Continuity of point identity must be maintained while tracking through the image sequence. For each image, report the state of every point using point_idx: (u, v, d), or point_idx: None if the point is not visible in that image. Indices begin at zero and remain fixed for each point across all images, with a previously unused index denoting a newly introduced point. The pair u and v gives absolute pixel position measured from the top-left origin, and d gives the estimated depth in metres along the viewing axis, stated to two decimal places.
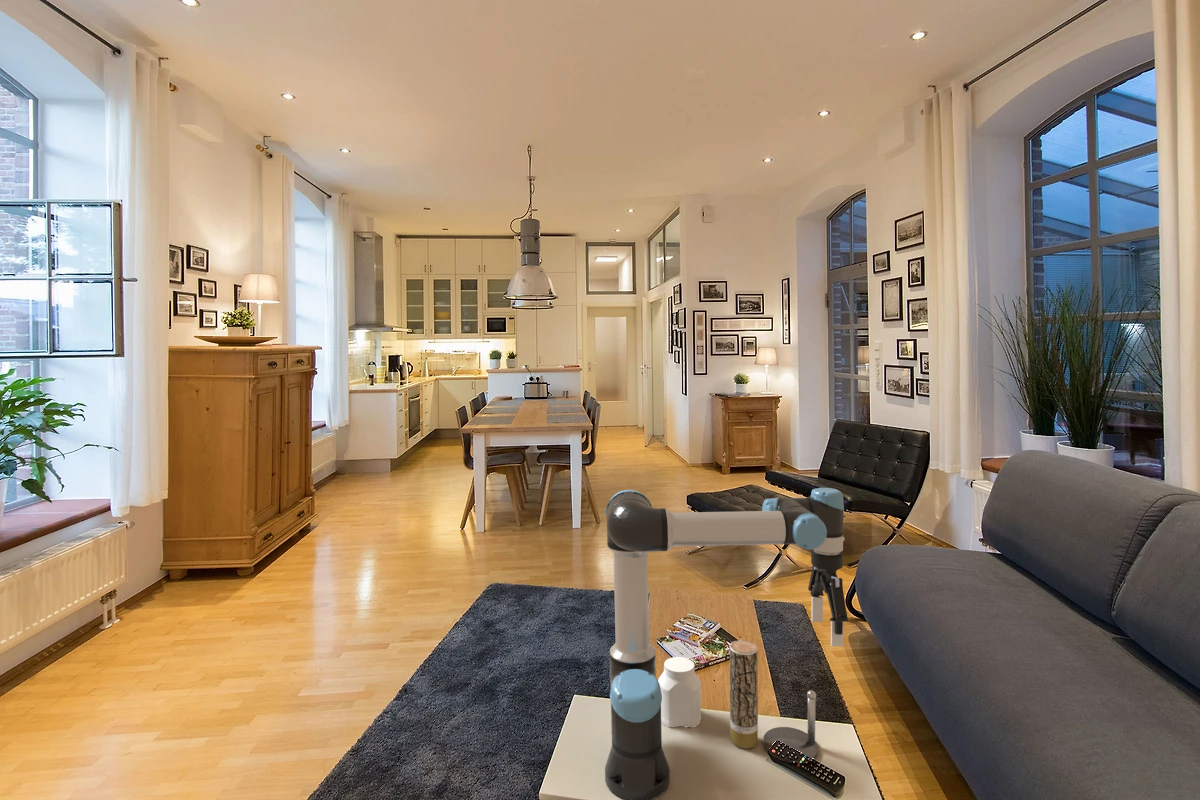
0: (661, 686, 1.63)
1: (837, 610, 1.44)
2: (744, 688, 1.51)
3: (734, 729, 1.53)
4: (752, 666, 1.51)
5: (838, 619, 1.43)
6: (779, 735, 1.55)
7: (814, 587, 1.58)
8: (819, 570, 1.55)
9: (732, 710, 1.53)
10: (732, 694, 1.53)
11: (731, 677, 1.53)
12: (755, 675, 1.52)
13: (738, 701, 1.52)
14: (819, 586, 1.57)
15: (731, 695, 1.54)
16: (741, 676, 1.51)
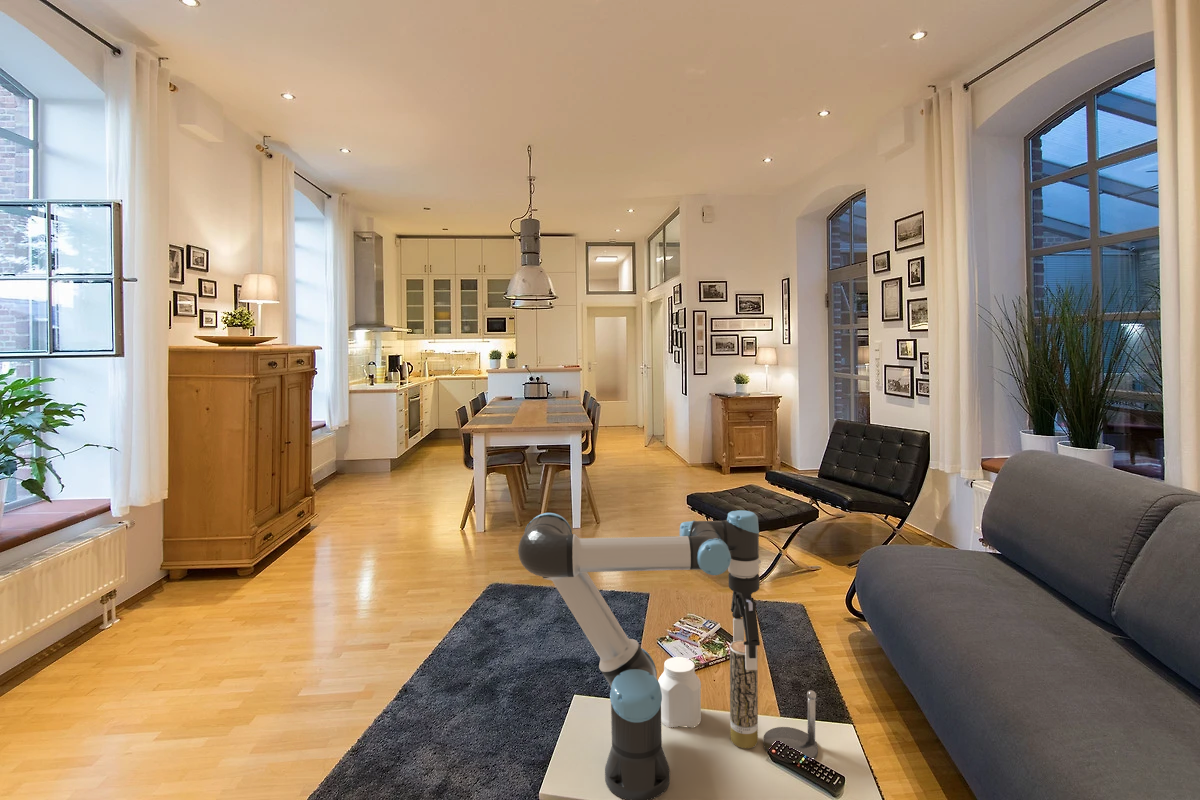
0: (661, 686, 1.63)
1: (749, 634, 1.44)
2: (744, 688, 1.51)
3: (734, 729, 1.53)
4: None
5: (750, 643, 1.43)
6: (779, 735, 1.55)
7: (734, 609, 1.58)
8: (737, 592, 1.55)
9: (732, 710, 1.53)
10: (732, 694, 1.53)
11: (731, 677, 1.53)
12: (755, 675, 1.52)
13: (738, 701, 1.52)
14: (739, 608, 1.57)
15: (731, 695, 1.54)
16: (741, 676, 1.51)
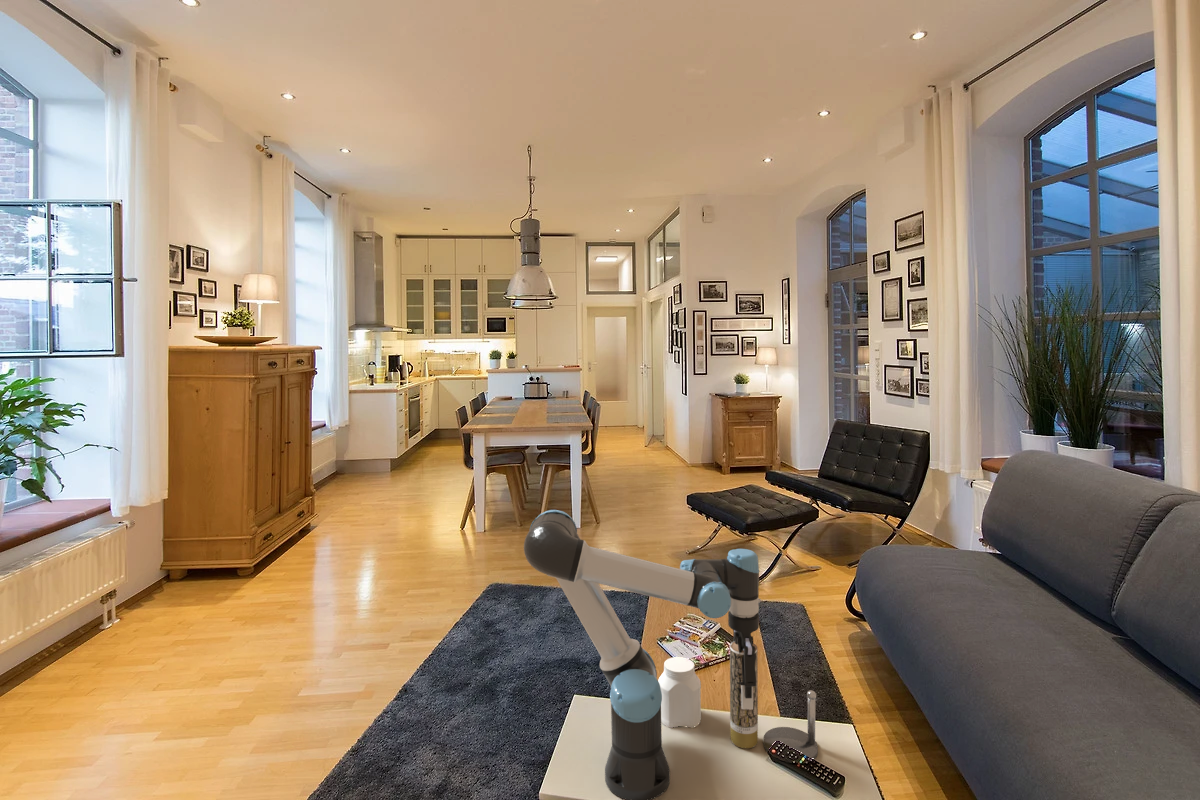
0: (661, 686, 1.63)
1: (746, 677, 1.47)
2: None
3: (734, 729, 1.53)
4: None
5: (746, 685, 1.47)
6: (779, 735, 1.55)
7: None
8: None
9: (732, 710, 1.53)
10: (732, 694, 1.53)
11: (731, 677, 1.53)
12: (755, 675, 1.52)
13: (738, 701, 1.52)
14: None
15: (731, 695, 1.54)
16: (741, 676, 1.51)
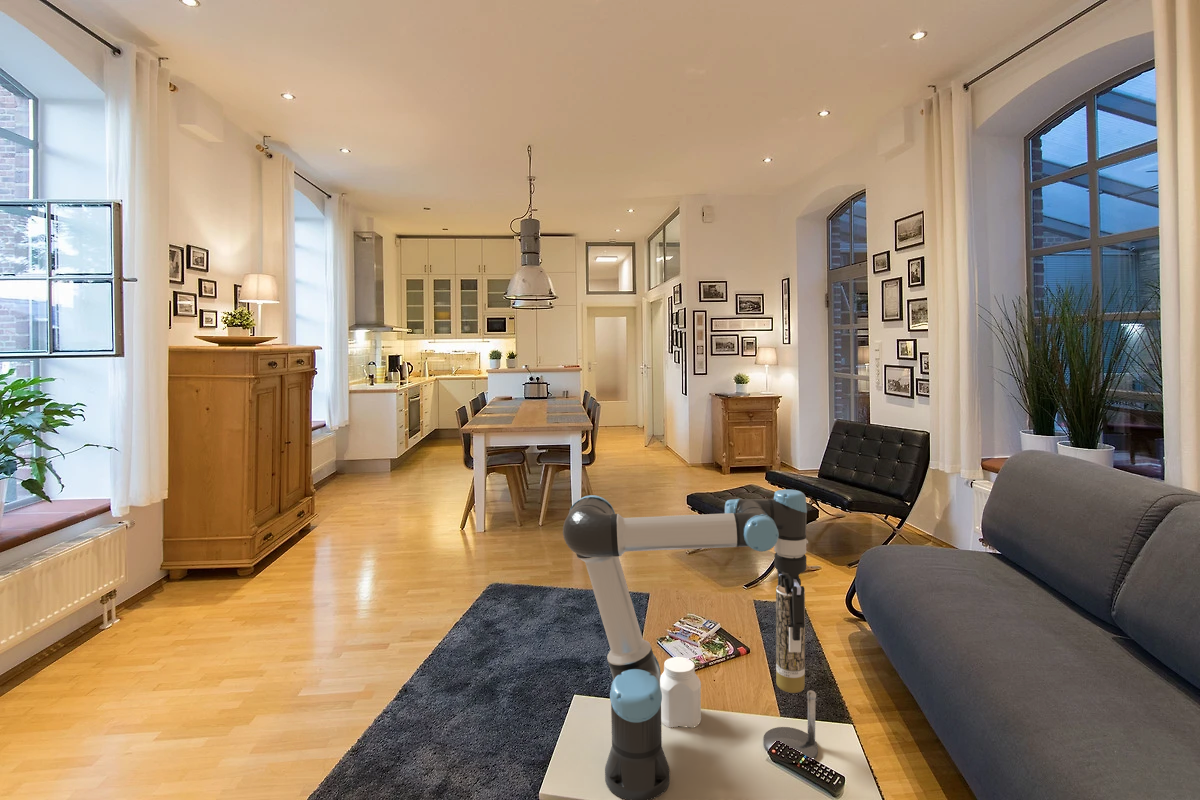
0: (661, 686, 1.63)
1: (795, 617, 1.43)
2: None
3: (781, 673, 1.49)
4: None
5: (795, 626, 1.43)
6: (779, 735, 1.55)
7: None
8: (783, 572, 1.52)
9: (779, 654, 1.50)
10: (779, 637, 1.49)
11: (778, 620, 1.50)
12: None
13: (785, 644, 1.48)
14: None
15: (777, 639, 1.50)
16: (789, 619, 1.47)
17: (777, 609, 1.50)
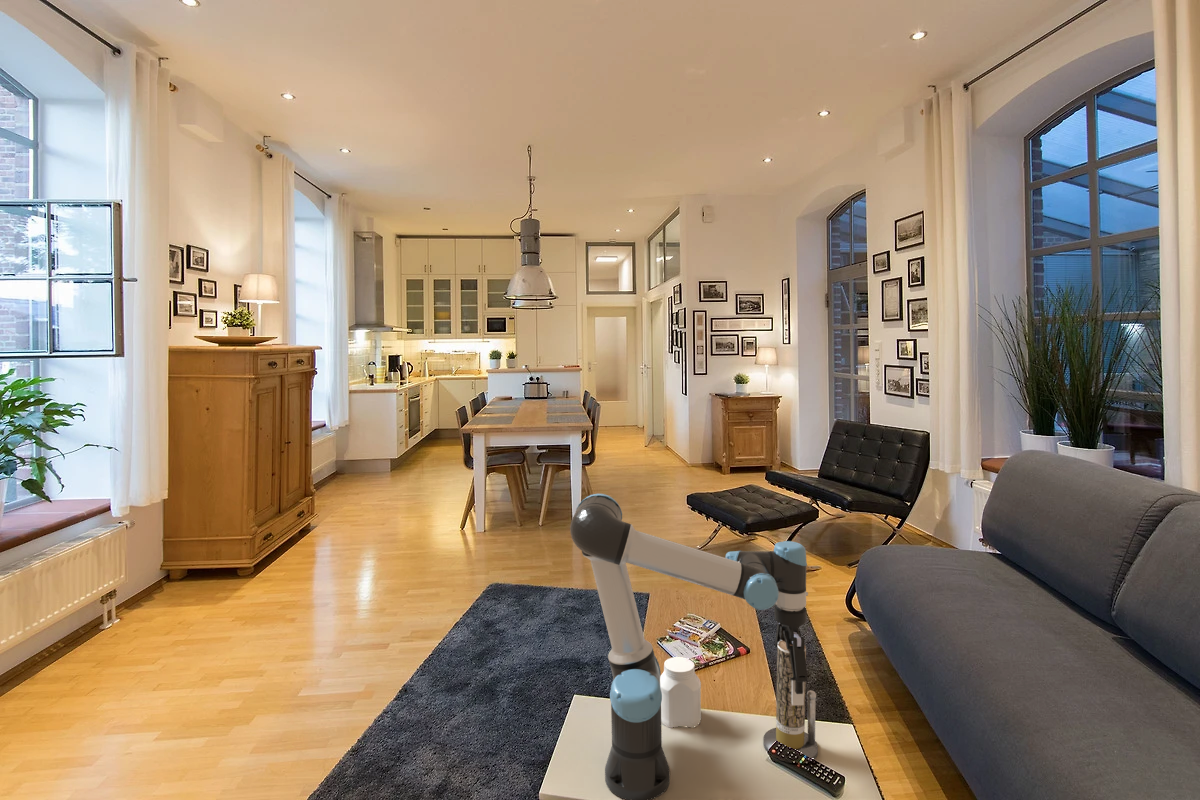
0: (661, 686, 1.63)
1: (797, 670, 1.43)
2: None
3: (781, 729, 1.50)
4: None
5: (798, 680, 1.42)
6: None
7: None
8: None
9: (779, 710, 1.51)
10: (779, 694, 1.50)
11: (778, 676, 1.51)
12: None
13: (786, 700, 1.49)
14: None
15: (778, 695, 1.51)
16: (789, 676, 1.48)
17: (778, 665, 1.51)
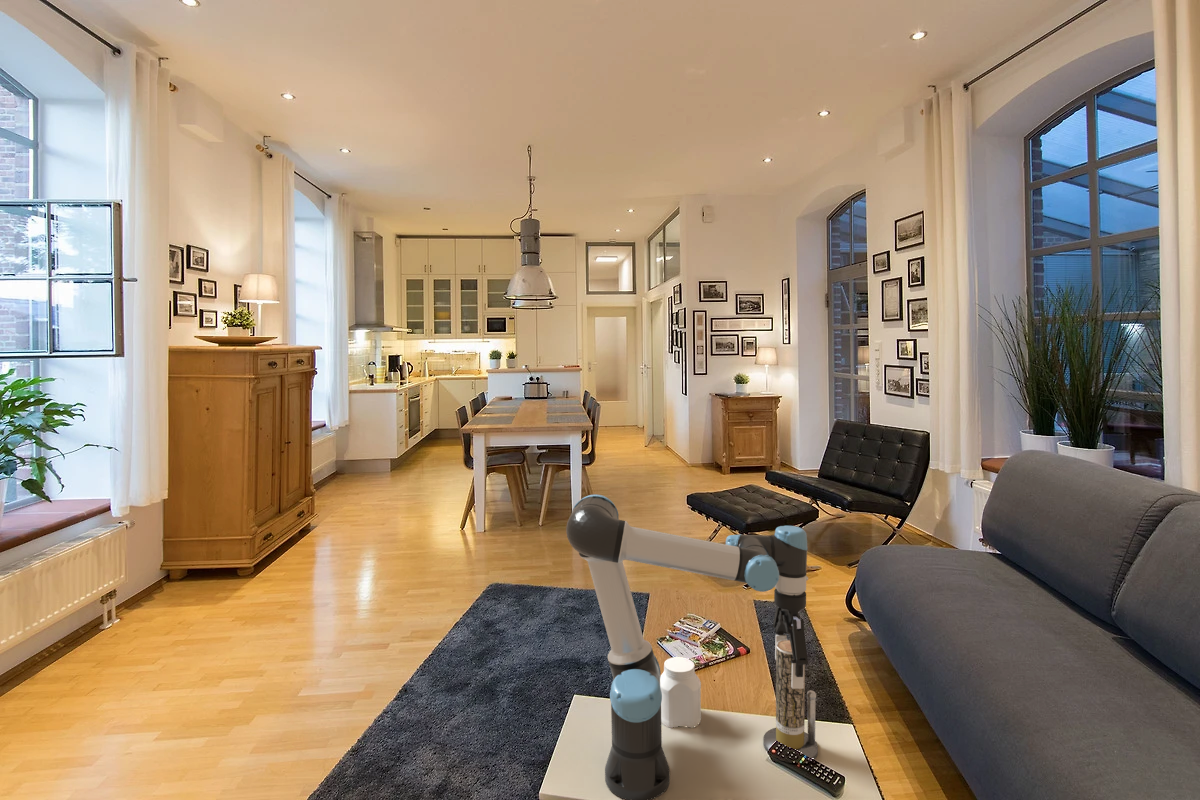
0: (661, 686, 1.63)
1: (797, 652, 1.42)
2: None
3: (781, 729, 1.50)
4: None
5: (798, 662, 1.41)
6: None
7: (778, 625, 1.56)
8: (782, 609, 1.52)
9: (778, 710, 1.51)
10: (779, 694, 1.50)
11: (778, 677, 1.51)
12: None
13: (785, 701, 1.49)
14: (783, 624, 1.55)
15: (777, 695, 1.51)
16: (789, 676, 1.48)
17: (777, 666, 1.51)
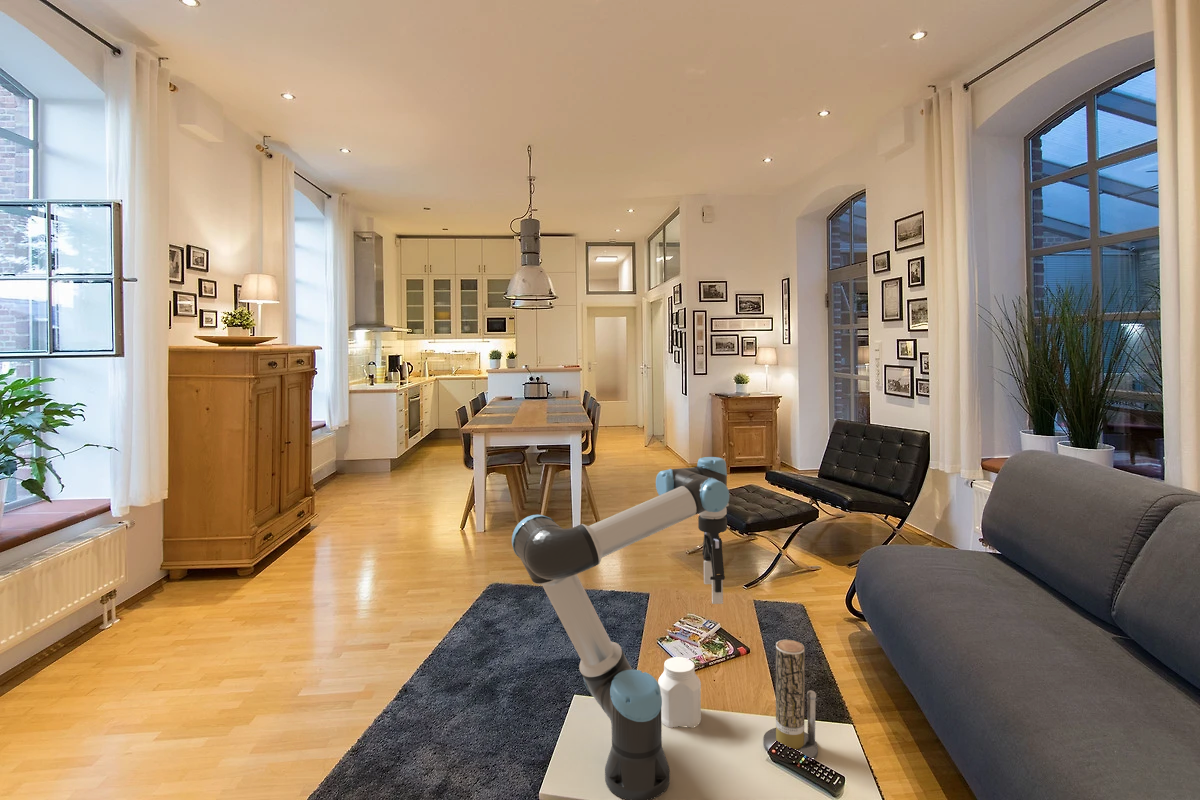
0: (661, 686, 1.63)
1: (715, 569, 1.54)
2: (792, 688, 1.48)
3: (781, 729, 1.50)
4: (799, 666, 1.48)
5: (715, 577, 1.53)
6: None
7: (705, 551, 1.68)
8: (707, 534, 1.65)
9: (778, 710, 1.51)
10: (778, 694, 1.50)
11: (777, 677, 1.51)
12: (802, 675, 1.49)
13: (785, 701, 1.49)
14: None
15: (777, 695, 1.51)
16: (788, 676, 1.48)
17: (777, 666, 1.51)
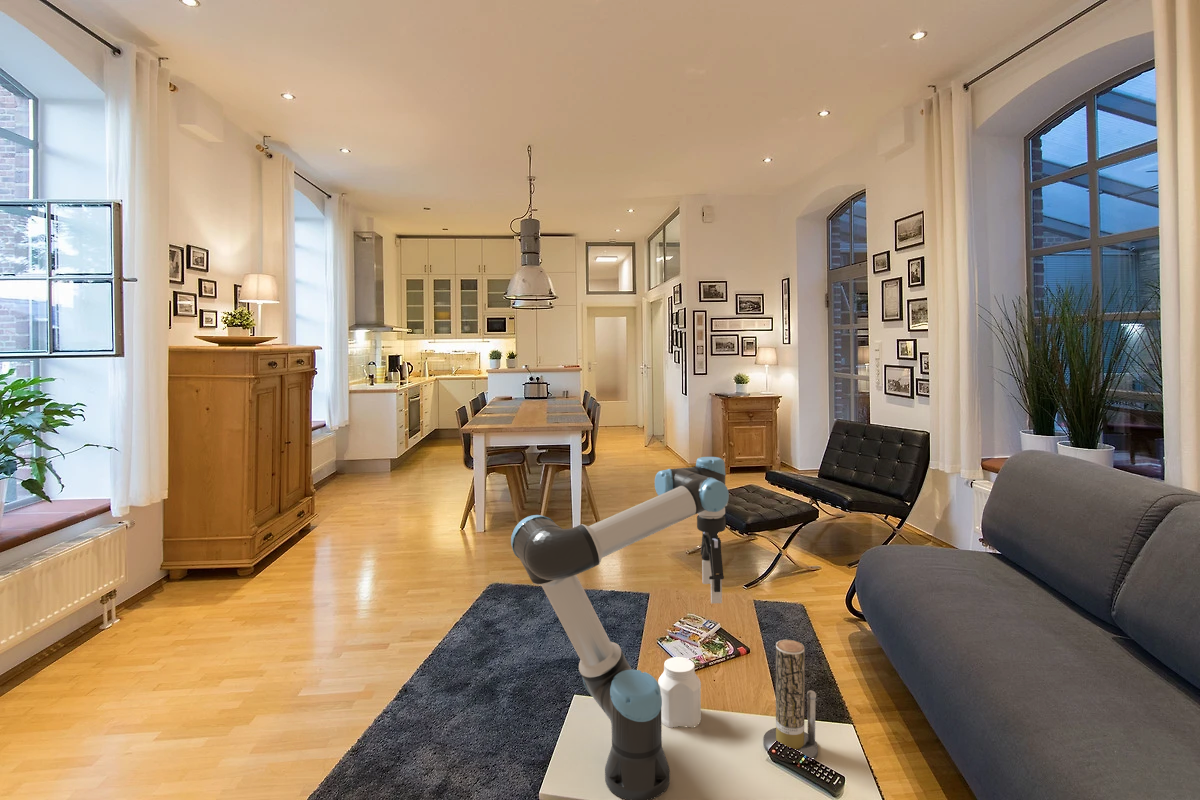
0: (661, 686, 1.63)
1: (714, 569, 1.54)
2: (792, 688, 1.48)
3: (781, 729, 1.50)
4: (799, 666, 1.48)
5: (714, 577, 1.53)
6: None
7: (703, 551, 1.69)
8: (705, 534, 1.65)
9: (778, 710, 1.51)
10: (778, 694, 1.50)
11: (777, 677, 1.51)
12: (802, 675, 1.49)
13: (785, 701, 1.49)
14: (707, 549, 1.67)
15: (777, 695, 1.51)
16: (788, 676, 1.48)
17: (777, 666, 1.51)
